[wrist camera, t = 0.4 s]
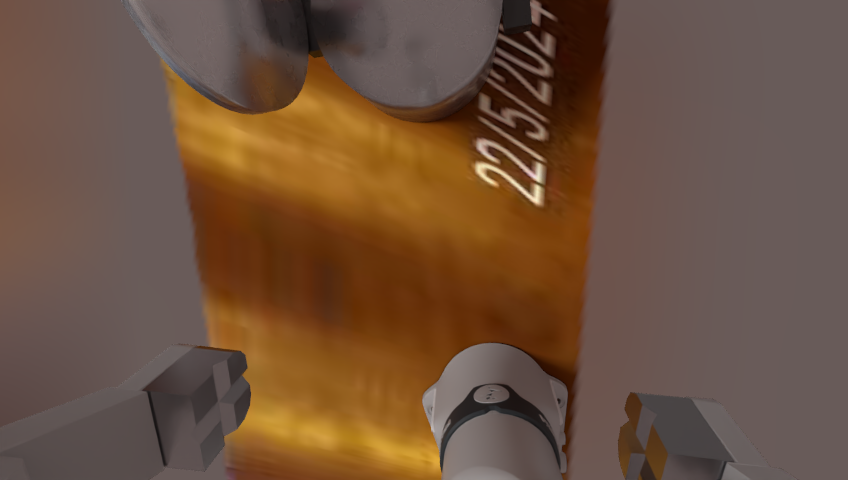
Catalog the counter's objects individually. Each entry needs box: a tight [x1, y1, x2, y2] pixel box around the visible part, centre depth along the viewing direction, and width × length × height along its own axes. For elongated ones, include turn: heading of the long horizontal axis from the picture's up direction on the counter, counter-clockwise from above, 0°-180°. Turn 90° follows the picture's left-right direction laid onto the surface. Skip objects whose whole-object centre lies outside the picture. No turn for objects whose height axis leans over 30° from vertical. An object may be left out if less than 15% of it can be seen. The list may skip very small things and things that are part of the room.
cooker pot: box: [301, 0, 532, 122], centre depth 44 cm, size 18×22×12 cm
